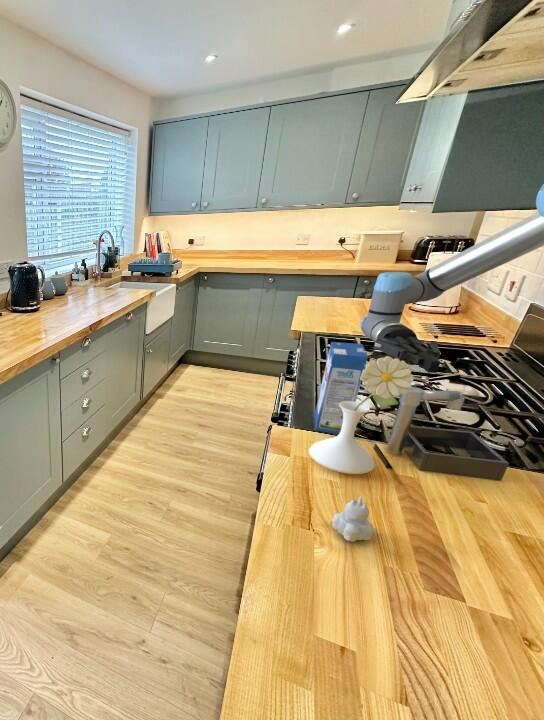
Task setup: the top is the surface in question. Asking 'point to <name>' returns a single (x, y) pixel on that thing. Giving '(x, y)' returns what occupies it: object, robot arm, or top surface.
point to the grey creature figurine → (354, 521)
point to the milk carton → (339, 384)
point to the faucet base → (398, 433)
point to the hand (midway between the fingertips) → (434, 367)
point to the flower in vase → (343, 449)
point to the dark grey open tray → (479, 466)
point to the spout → (432, 397)
